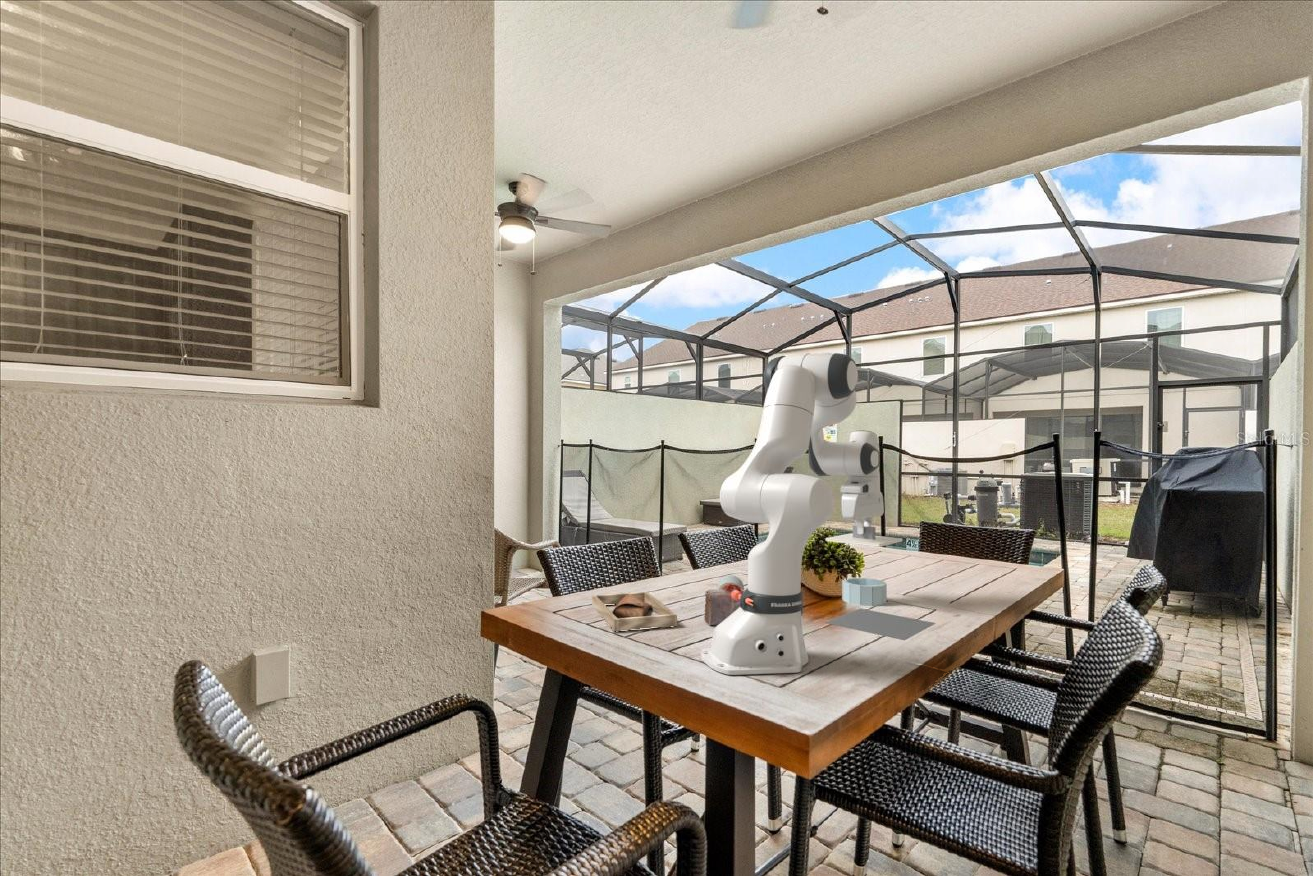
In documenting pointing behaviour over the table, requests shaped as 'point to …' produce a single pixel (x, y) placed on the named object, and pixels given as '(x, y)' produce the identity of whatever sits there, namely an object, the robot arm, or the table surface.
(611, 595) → the case frame
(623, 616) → the sunglasses case
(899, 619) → the mat
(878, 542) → the cream board with block
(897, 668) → the table surface
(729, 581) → the ceramic mug
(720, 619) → the food item
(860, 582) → the bowl
